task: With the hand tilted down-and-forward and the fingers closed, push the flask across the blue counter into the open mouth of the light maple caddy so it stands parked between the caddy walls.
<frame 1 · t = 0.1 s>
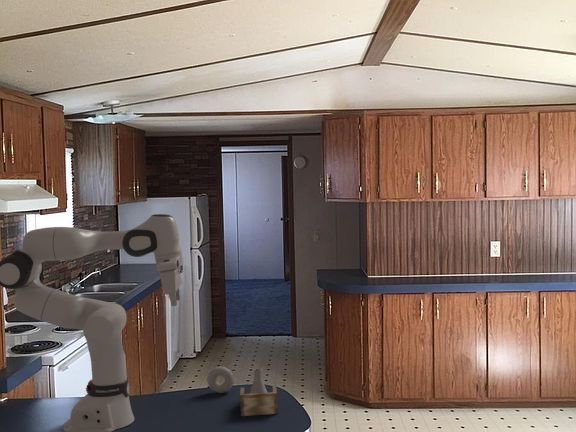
hand: (176, 303, 208), 39 cm above the countertop, tool pointing down, fingers open, 8 cm apart
donut: (221, 393, 234), on the countertop
caddy: (259, 408, 216), on the countertop
flask: (258, 397, 227), on the countertop
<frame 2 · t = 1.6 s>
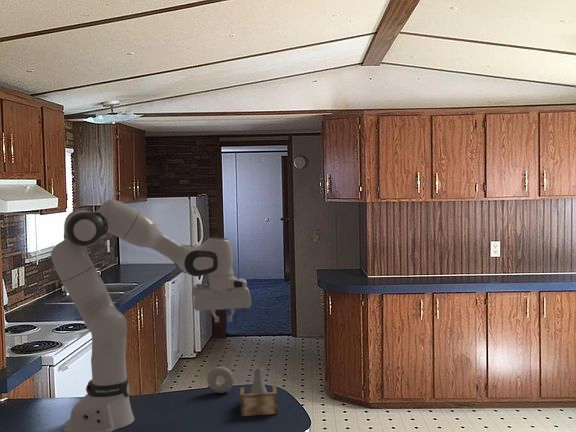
hand: (223, 321, 221), 29 cm above the countertop, tool pointing down, fingers open, 3 cm apart
nothing on the countertop moved.
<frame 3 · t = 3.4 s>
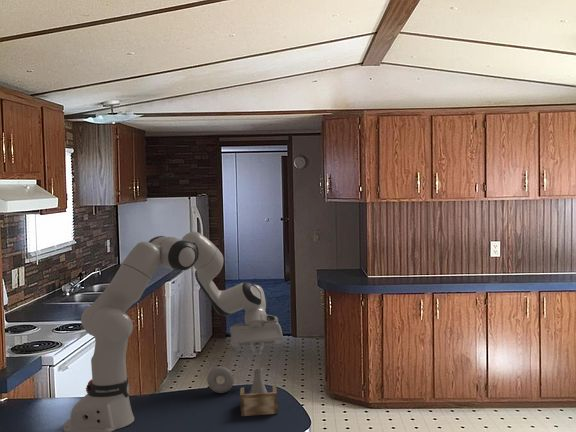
hand: (257, 353, 239), 12 cm above the countertop, tool tilted 45°, fingers closed
nothing on the countertop moved.
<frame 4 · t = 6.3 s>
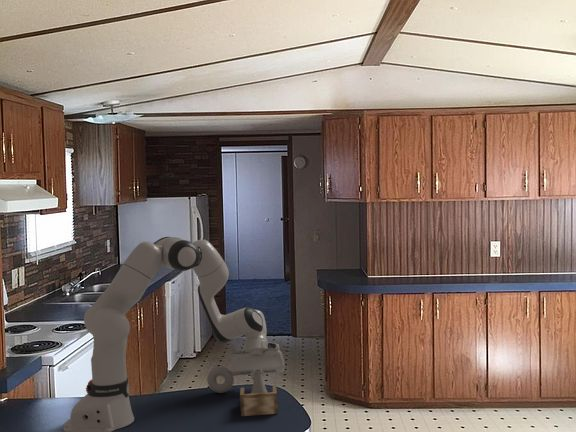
hand: (258, 383, 229), 4 cm above the countertop, tool tilted 45°, fingers closed, pressing on flask
flask: (259, 397, 227), on the countertop, touching gripper
everything else where it was.
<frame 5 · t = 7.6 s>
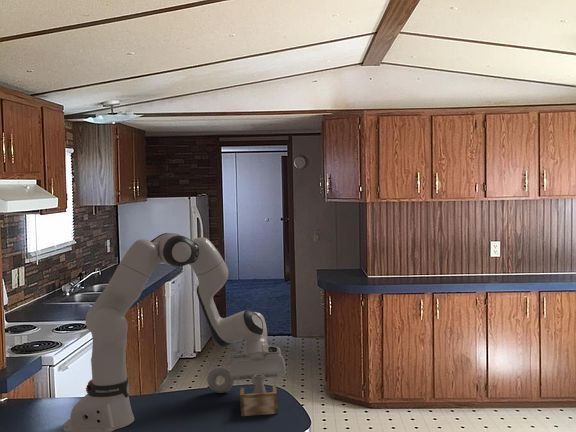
hand: (259, 388, 222), 5 cm above the countertop, tool tilted 45°, fingers closed, pressing on flask
flask: (260, 403, 220), on the countertop, touching gripper
everything else where it was.
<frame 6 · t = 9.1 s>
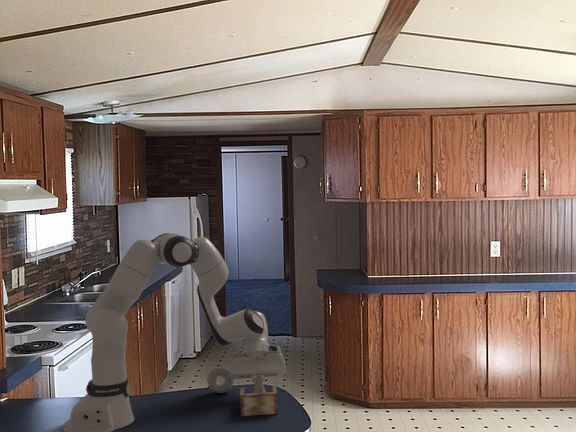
hand: (258, 387, 222), 5 cm above the countertop, tool tilted 45°, fingers closed
flask: (260, 405, 219), on the countertop
everything else where it was.
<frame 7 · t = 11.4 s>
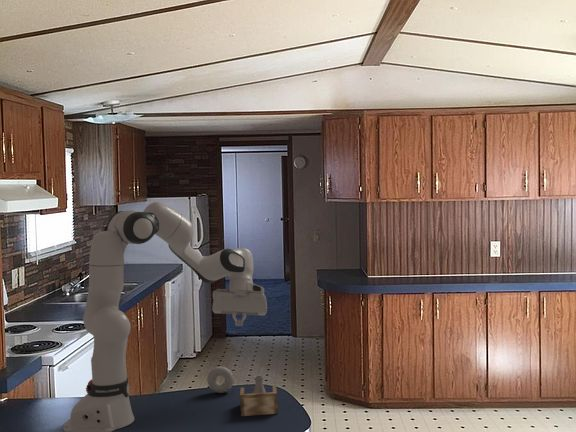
hand: (238, 325, 229), 26 cm above the countertop, tool tilted 30°, fingers closed
nothing on the countertop moved.
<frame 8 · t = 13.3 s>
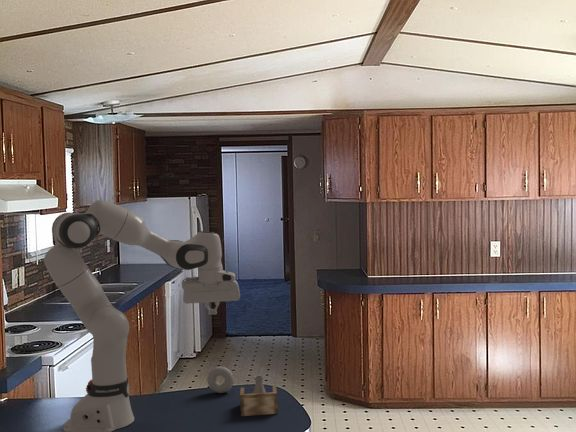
hand: (212, 314, 225), 31 cm above the countertop, tool pointing down, fingers closed
nothing on the countertop moved.
at the end: flask inside the target area (3.0 cm from its centre), on the countertop; flask tilted 0° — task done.
